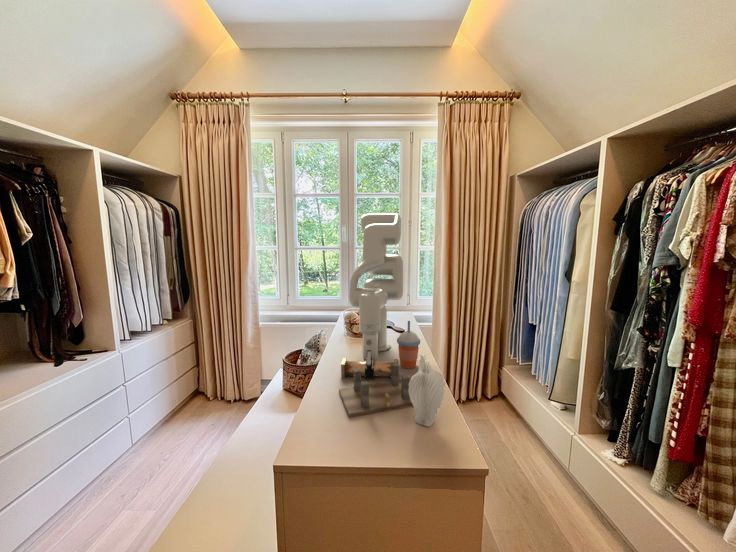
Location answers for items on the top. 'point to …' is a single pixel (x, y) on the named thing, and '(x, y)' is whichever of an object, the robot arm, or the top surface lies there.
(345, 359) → the copper tube
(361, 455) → the top surface
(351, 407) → the collar board
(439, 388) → the shell sculpture
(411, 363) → the cup with straw
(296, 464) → the top surface
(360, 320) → the robot arm
